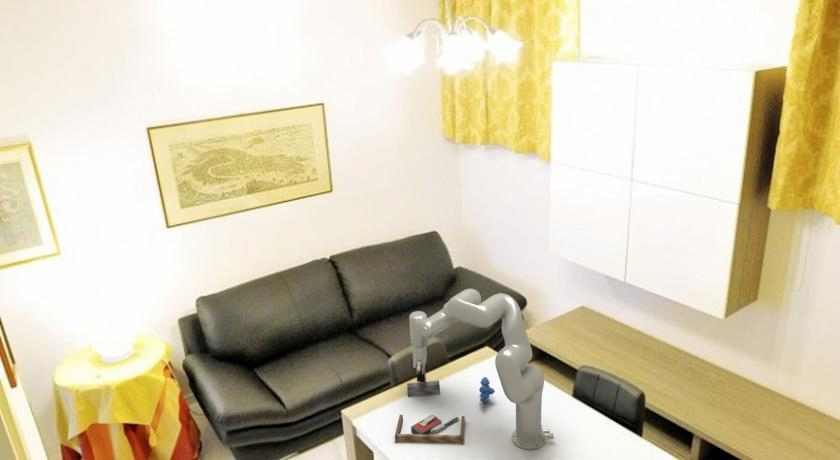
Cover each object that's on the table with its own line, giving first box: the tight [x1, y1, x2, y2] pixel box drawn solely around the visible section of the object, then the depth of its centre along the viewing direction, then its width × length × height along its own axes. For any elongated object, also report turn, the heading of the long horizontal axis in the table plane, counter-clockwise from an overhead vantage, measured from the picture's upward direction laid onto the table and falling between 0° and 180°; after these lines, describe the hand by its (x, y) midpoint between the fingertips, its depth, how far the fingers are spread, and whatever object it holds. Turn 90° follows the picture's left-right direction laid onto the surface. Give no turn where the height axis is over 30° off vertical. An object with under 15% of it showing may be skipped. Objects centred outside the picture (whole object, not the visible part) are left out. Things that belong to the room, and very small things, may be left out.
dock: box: [394, 414, 466, 445], centre depth 242 cm, size 26×14×3 cm, turn 83°
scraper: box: [406, 366, 441, 398], centre depth 266 cm, size 14×3×13 cm, turn 94°
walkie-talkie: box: [410, 414, 459, 435], centre depth 245 cm, size 9×4×20 cm
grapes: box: [478, 376, 496, 405], centre depth 257 cm, size 12×7×12 cm, turn 167°
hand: (421, 375), depth 265 cm, fingers open, 7 cm apart
